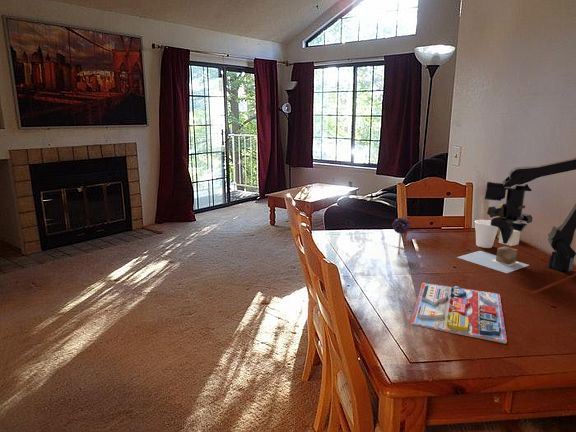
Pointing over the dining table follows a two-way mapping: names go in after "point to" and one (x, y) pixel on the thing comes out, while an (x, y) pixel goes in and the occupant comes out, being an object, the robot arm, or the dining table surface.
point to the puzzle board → (460, 312)
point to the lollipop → (400, 228)
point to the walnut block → (506, 255)
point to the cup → (485, 233)
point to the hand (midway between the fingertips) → (508, 242)
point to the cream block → (511, 238)
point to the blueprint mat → (491, 261)
